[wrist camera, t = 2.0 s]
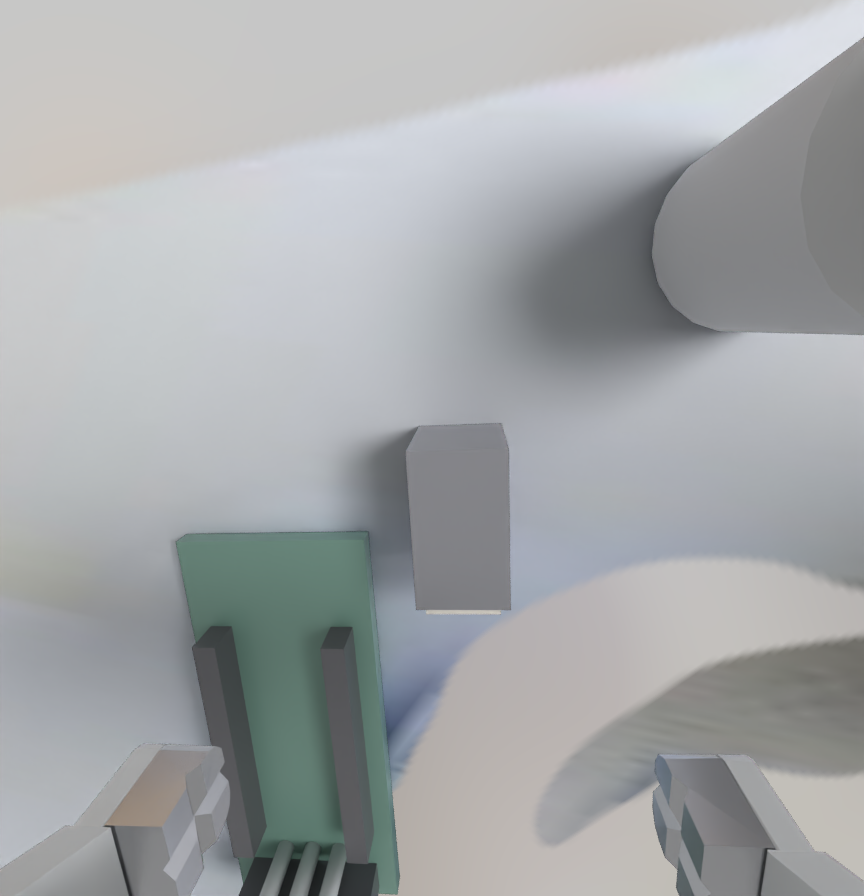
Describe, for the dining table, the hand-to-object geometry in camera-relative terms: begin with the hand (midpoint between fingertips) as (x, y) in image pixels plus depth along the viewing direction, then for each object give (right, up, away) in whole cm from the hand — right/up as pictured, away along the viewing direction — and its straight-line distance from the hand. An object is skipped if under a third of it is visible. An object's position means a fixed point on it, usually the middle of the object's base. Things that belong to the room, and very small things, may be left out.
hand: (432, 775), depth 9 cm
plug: (+2, +4, +15) cm, 16 cm away
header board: (-8, -10, +19) cm, 23 cm away
